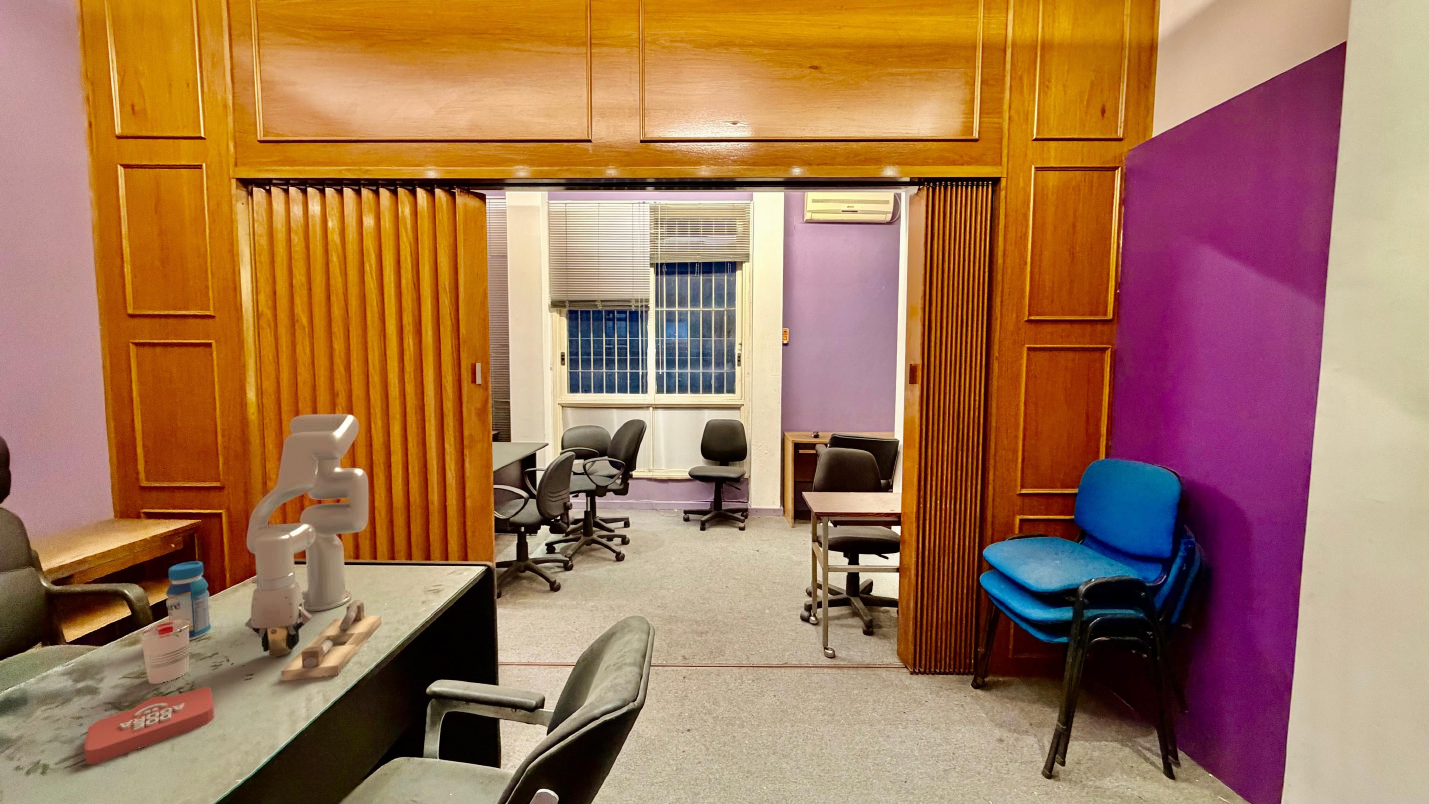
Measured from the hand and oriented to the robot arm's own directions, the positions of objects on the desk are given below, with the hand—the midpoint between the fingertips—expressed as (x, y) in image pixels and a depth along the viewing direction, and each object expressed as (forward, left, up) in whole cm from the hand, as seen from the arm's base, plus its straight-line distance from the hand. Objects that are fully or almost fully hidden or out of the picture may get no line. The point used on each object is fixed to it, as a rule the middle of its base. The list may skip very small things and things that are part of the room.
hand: (281, 647), depth 138 cm
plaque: (-10, -26, -3) cm, 28 cm away
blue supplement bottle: (-30, +15, -2) cm, 34 cm away
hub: (0, 0, -1) cm, 1 cm away
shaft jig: (+13, -1, -2) cm, 13 cm away
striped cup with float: (-21, -6, -2) cm, 22 cm away
